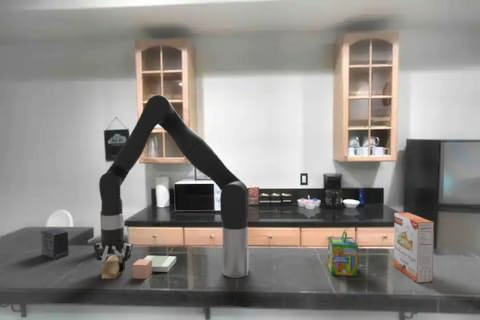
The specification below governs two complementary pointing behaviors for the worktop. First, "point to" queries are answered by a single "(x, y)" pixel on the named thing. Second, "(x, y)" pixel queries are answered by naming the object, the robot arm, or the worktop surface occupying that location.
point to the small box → (54, 243)
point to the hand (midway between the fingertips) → (113, 271)
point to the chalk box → (342, 255)
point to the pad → (161, 263)
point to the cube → (142, 268)
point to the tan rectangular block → (110, 267)
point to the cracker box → (414, 246)
